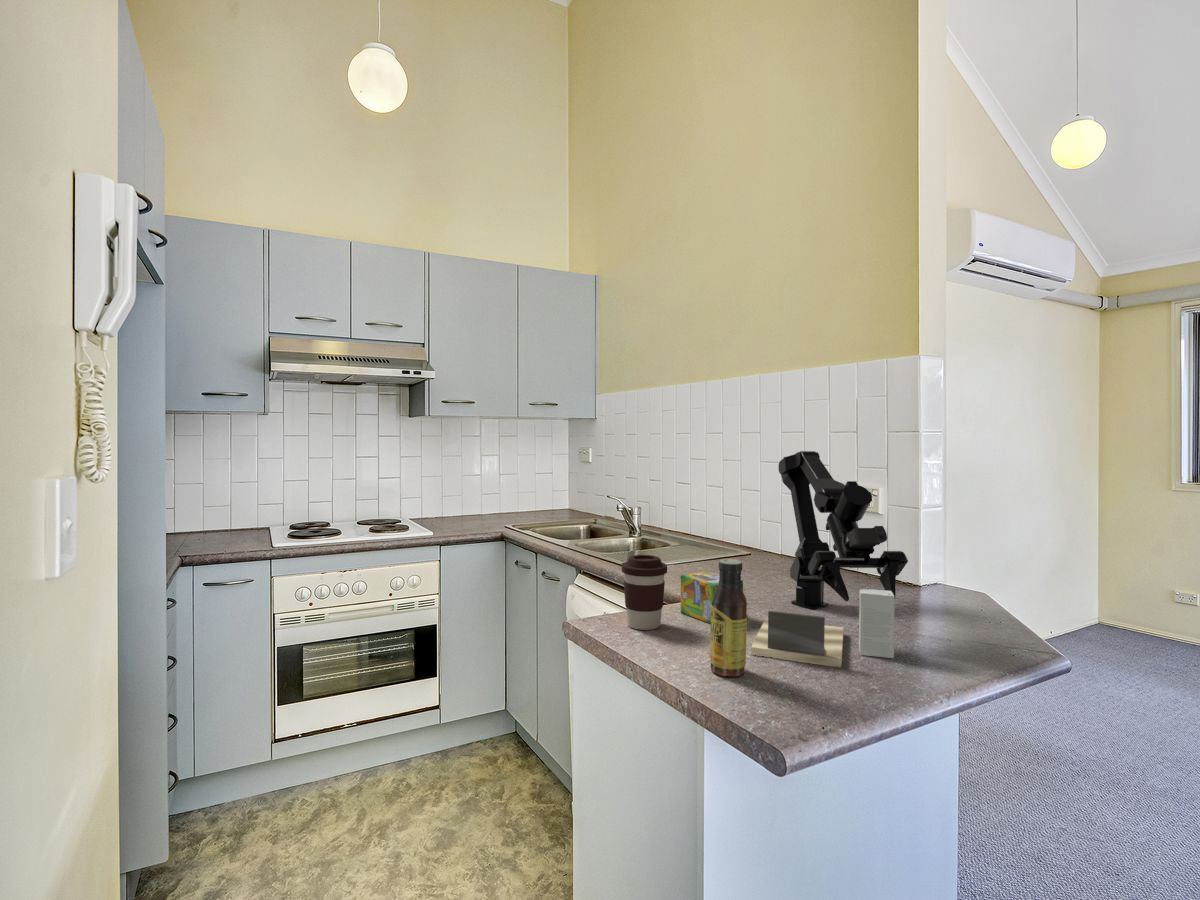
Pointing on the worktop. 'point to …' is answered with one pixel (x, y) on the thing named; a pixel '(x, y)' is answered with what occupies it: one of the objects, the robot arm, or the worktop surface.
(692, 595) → the chalk box
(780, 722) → the worktop surface
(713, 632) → the sauce bottle
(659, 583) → the coffee cup
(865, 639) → the skincare box
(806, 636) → the base with upright panel
